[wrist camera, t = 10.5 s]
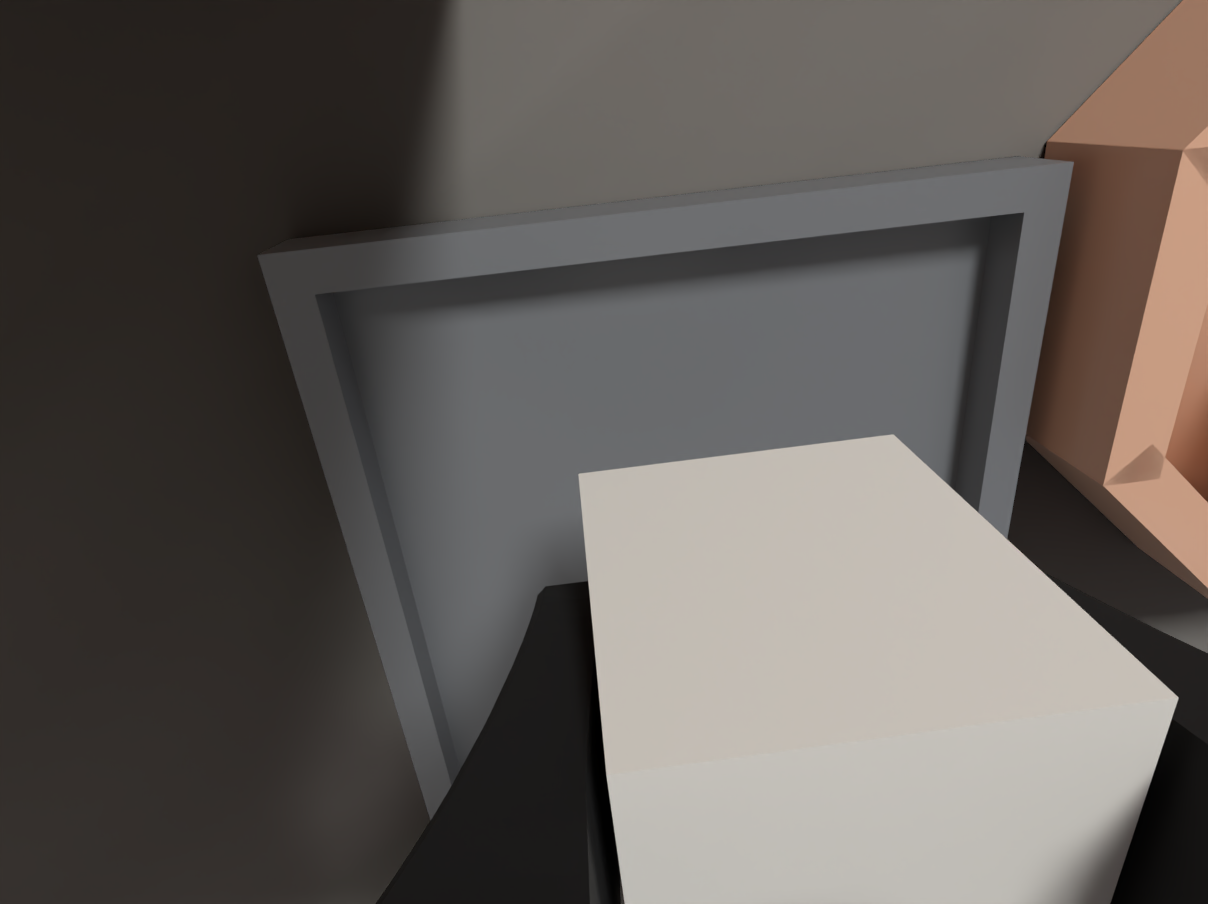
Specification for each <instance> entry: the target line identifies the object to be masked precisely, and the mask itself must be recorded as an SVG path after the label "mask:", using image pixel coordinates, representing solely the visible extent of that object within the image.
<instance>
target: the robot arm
mask: <svg viewBox="0 0 1208 904" xmlns="http://www.w3.org/2000/svg"><path fill="white" fill-rule="evenodd" d="M1043 573H1044V572H1043ZM1044 574H1045V575H1046V576H1047V577H1048V578H1050V579H1051V580H1052V581H1053V582H1054V583H1055V584H1056V585H1057V586H1058V587H1059V588H1060V589H1061V590H1063V591H1064V592H1065V593H1066V594H1067V595H1068V596H1069V597H1070V598H1071V599H1072V600H1073V601H1075V602H1076V603H1077V604H1078V605H1079V606H1080V607H1081V608H1082V609H1083V610H1084V611H1085V612H1086V613H1088V614H1089V615H1090V616H1091V617H1092V618H1093V619H1094V620H1095V621H1096V622H1097V623H1098V624H1099V625H1101V626H1102V627H1103V628H1104V629H1105V630H1106V631H1107V632H1108V633H1109V634H1110V635H1111V636H1112V637H1114V638H1115V639H1116V640H1117V641H1118V642H1119V643H1120V644H1121V645H1122V646H1123V647H1124V648H1125V649H1127V650H1128V651H1129V652H1130V653H1131V654H1132V655H1133V656H1134V657H1135V658H1136V659H1137V660H1138V661H1140V662H1141V663H1142V664H1143V665H1144V666H1145V667H1146V668H1147V669H1148V670H1149V671H1150V672H1151V673H1153V674H1154V675H1155V676H1156V677H1157V678H1158V679H1159V680H1160V681H1161V682H1162V683H1163V684H1164V685H1166V686H1167V687H1168V688H1169V689H1170V690H1171V691H1172V692H1173V693H1174V694H1175V695H1176V696H1177V697H1179V699H1178V702H1177V705H1176V708H1175V711H1174V714H1173V717H1172V720H1171V723H1170V726H1169V729H1168V732H1167V735H1166V738H1165V741H1164V744H1163V747H1162V750H1161V753H1160V756H1159V759H1158V762H1157V765H1156V768H1155V771H1154V774H1153V777H1152V780H1151V783H1150V786H1149V789H1148V792H1147V795H1146V798H1145V801H1144V804H1143V807H1142V810H1141V813H1140V816H1139V819H1138V822H1137V825H1136V828H1135V831H1134V834H1133V837H1132V840H1131V843H1130V846H1129V849H1128V852H1127V855H1126V858H1125V861H1124V864H1123V867H1122V870H1121V873H1120V876H1119V879H1118V882H1117V885H1116V888H1115V891H1114V894H1113V897H1112V900H1111V903H1110V904H1208V653H1206V652H1203V651H1201V650H1199V649H1197V648H1195V647H1193V646H1191V645H1189V644H1187V643H1184V642H1182V641H1180V640H1178V639H1176V638H1174V637H1172V636H1170V635H1168V634H1165V633H1163V632H1161V631H1159V630H1157V629H1155V628H1153V627H1151V626H1149V625H1147V624H1145V623H1143V622H1141V621H1139V620H1137V619H1135V618H1133V617H1131V616H1129V615H1127V614H1125V613H1123V612H1121V611H1119V610H1117V609H1115V608H1113V607H1111V606H1109V605H1107V604H1105V603H1103V602H1101V601H1099V600H1097V599H1095V598H1093V597H1091V596H1089V595H1087V594H1085V593H1083V592H1081V591H1079V590H1077V589H1075V588H1073V587H1071V586H1069V585H1067V584H1065V583H1063V582H1061V581H1059V580H1057V579H1055V578H1053V577H1051V576H1049V575H1047V574H1046V573H1044ZM376 904H621V903H620V867H619V860H618V853H617V846H616V839H615V832H614V825H613V818H612V811H611V804H610V797H609V790H608V783H607V776H606V765H605V755H604V744H603V733H602V722H601V712H600V701H599V690H598V680H597V669H596V658H595V647H594V637H593V626H592V615H591V605H590V594H589V583H588V581H584V582H576V583H568V584H560V585H552V586H545V587H544V589H543V590H542V591H541V592H540V593H539V594H538V595H537V599H536V603H535V607H534V610H533V613H532V616H531V619H530V622H529V625H528V628H527V631H526V633H525V636H524V639H523V641H522V644H521V646H520V649H519V651H518V653H517V656H516V658H515V661H514V663H513V666H512V668H511V670H510V672H509V674H508V676H507V679H506V681H505V683H504V685H503V687H502V689H501V691H500V694H499V696H498V698H497V700H496V702H495V704H494V707H493V709H492V711H491V713H490V715H489V717H488V719H487V721H486V723H485V725H484V727H483V729H482V731H481V732H480V734H479V736H478V738H477V740H476V742H475V743H474V745H473V747H472V749H471V751H470V753H469V754H468V756H467V758H466V760H465V762H464V764H463V765H462V767H461V769H460V771H459V773H458V775H457V777H456V778H455V780H454V782H453V784H452V786H451V787H450V789H449V791H448V793H447V794H446V796H445V798H444V799H443V801H442V803H441V804H440V806H439V808H438V809H437V811H436V813H435V814H434V816H433V818H432V819H431V821H430V822H429V824H428V826H427V827H426V829H425V830H424V832H423V834H422V835H421V837H420V838H419V840H418V842H417V843H416V845H415V846H414V848H413V849H412V851H411V852H410V854H409V855H408V857H407V858H406V860H405V861H404V863H403V865H402V866H401V868H400V869H399V871H398V872H397V874H396V875H395V877H394V878H393V880H392V881H391V883H390V884H389V886H388V887H387V888H386V890H385V891H384V893H383V894H382V896H381V897H380V898H379V900H378V901H377V903H376Z"/></svg>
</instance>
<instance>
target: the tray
mask: <svg viewBox="0 0 1208 904" xmlns="http://www.w3.org/2000/svg"><path fill="white" fill-rule="evenodd" d="M1073 165H1074V162H1071V161H1061V160H1051V159H1041V158H1031V157H1021V156H1015V157H1007V158H998V159H989V160H980V161H971V162H963V163H954V164H945V165H936V166H928V167H919V168H910V169H901V170H892V171H884V172H875V173H866V174H857V175H848V176H840V177H831V178H822V179H813V180H804V181H796V182H787V183H778V184H769V185H761V186H752V187H743V188H734V189H725V190H717V191H708V192H699V193H690V194H681V195H673V196H664V197H655V198H646V199H637V200H629V201H620V202H611V203H602V204H594V205H585V206H576V207H567V208H558V209H550V210H541V211H532V212H523V213H514V214H506V215H497V216H488V217H479V218H471V219H462V220H453V221H444V222H435V223H427V224H418V225H409V226H400V227H391V228H383V229H374V230H365V231H356V232H347V233H339V234H330V235H321V236H312V237H304V238H295V239H288V240H286V241H284V242H282V243H280V244H278V245H276V246H274V247H272V248H270V249H268V250H266V251H264V252H262V253H260V254H258V255H257V256H258V259H259V263H260V266H261V269H262V273H263V276H264V279H265V282H266V286H267V289H268V292H269V295H270V299H271V302H272V305H273V308H274V312H275V315H276V318H277V321H278V325H279V328H280V331H281V335H282V338H283V341H284V344H285V348H286V351H287V354H288V357H289V361H290V364H291V367H292V370H293V374H294V377H295V380H296V383H297V387H298V390H299V393H300V397H301V400H302V403H303V406H304V410H305V413H306V416H307V419H308V423H309V426H310V429H311V432H312V436H313V439H314V442H315V445H316V449H317V452H318V455H319V459H320V462H321V465H322V468H323V472H324V475H325V478H326V481H327V485H328V488H329V491H330V494H331V498H332V501H333V504H334V507H335V511H336V514H337V517H338V520H339V524H340V527H341V530H342V534H343V537H344V540H345V543H346V547H347V550H348V553H349V556H350V560H351V563H352V566H353V569H354V573H355V576H356V579H357V582H358V586H359V589H360V592H361V596H362V599H363V602H364V605H365V609H366V612H367V615H368V618H369V622H370V625H371V628H372V631H373V635H374V638H375V641H376V644H377V648H378V651H379V654H380V658H381V661H382V664H383V667H384V671H385V674H386V677H387V680H388V684H389V687H390V690H391V693H392V697H393V700H394V703H395V706H396V710H397V713H398V716H399V719H400V723H401V726H402V729H403V733H404V736H405V739H406V742H407V746H408V749H409V752H410V755H411V759H412V762H413V765H414V768H415V772H416V775H417V778H418V781H419V785H420V788H421V791H422V795H423V798H424V801H425V804H426V808H427V811H428V814H429V817H430V821H431V819H432V818H433V816H434V814H435V813H436V811H437V809H438V808H439V806H440V804H441V803H442V801H443V799H444V798H445V796H446V794H447V793H448V791H449V789H450V787H451V786H452V784H453V782H454V780H455V778H456V777H457V775H458V773H459V771H460V769H461V767H462V765H463V764H464V762H465V760H466V758H467V756H468V754H469V753H470V751H471V749H472V747H473V745H474V743H475V742H476V740H477V738H478V736H479V734H480V732H481V731H482V729H483V727H484V725H485V723H486V721H487V719H488V717H489V715H490V713H491V711H492V709H493V707H494V704H495V702H496V700H497V698H498V696H499V694H500V691H501V689H502V687H503V685H504V683H505V681H506V679H507V676H508V674H509V672H510V670H511V668H512V666H513V663H514V661H515V658H516V656H517V653H518V651H519V649H520V646H521V644H522V641H523V639H524V636H525V633H526V631H527V628H528V625H529V622H530V619H531V616H532V613H533V610H534V607H535V603H536V599H537V595H538V594H539V593H540V592H541V591H542V590H543V589H544V587H545V586H552V585H560V584H568V583H576V582H584V581H588V572H587V562H586V551H585V540H584V529H583V519H582V508H581V497H580V487H579V476H578V474H580V473H588V472H596V471H604V470H612V469H620V468H628V467H636V466H644V465H652V464H660V463H668V462H676V461H684V460H692V459H700V458H708V457H716V456H724V455H732V454H740V453H748V452H756V451H764V450H772V449H780V448H788V447H796V446H804V445H812V444H820V443H828V442H836V441H844V440H852V439H860V438H868V437H876V436H884V435H892V434H894V435H895V436H896V437H897V438H898V439H899V440H900V441H901V442H902V443H903V444H904V445H905V446H907V447H908V448H909V449H910V450H911V451H912V452H913V453H914V454H915V455H916V456H917V457H918V458H920V459H921V460H922V461H923V462H924V463H925V464H926V465H927V466H928V467H929V468H930V469H931V470H933V471H934V472H935V473H936V474H937V475H938V476H939V477H940V478H941V479H942V480H943V481H944V482H946V483H947V484H948V485H949V486H950V487H951V488H952V489H953V490H954V491H955V492H956V493H957V494H959V495H960V496H961V497H962V498H963V499H964V500H965V501H966V502H967V503H968V504H969V505H970V506H972V507H973V508H974V509H975V510H976V511H977V512H978V513H979V514H980V515H981V516H982V517H983V518H985V519H986V520H987V521H988V522H989V523H990V524H991V525H992V526H993V527H994V528H995V529H996V530H998V531H999V532H1000V533H1001V534H1002V535H1003V536H1004V537H1005V538H1006V539H1007V537H1008V531H1009V526H1010V520H1011V515H1012V509H1013V503H1014V498H1015V492H1016V486H1017V481H1018V475H1019V469H1020V464H1021V458H1022V453H1023V447H1024V441H1025V436H1026V430H1027V424H1028V419H1029V413H1030V407H1031V402H1032V396H1033V390H1034V385H1035V379H1036V374H1037V368H1038V362H1039V357H1040V351H1041V345H1042V340H1043V334H1044V328H1045V323H1046V317H1047V312H1048V306H1049V300H1050V295H1051V289H1052V283H1053V278H1054V272H1055V266H1056V261H1057V255H1058V250H1059V244H1060V238H1061V233H1062V227H1063V221H1064V216H1065V210H1066V204H1067V199H1068V193H1069V187H1070V182H1071V176H1072V171H1073Z"/></svg>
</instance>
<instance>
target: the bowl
mask: <svg viewBox="0 0 1208 904" xmlns="http://www.w3.org/2000/svg"><path fill="white" fill-rule="evenodd" d="M1044 159H1051V160H1061V161H1071V162H1074V165H1073V171H1072V176H1071V182H1070V187H1069V193H1068V199H1067V204H1066V210H1065V216H1064V221H1063V227H1062V233H1061V238H1060V244H1059V250H1058V255H1057V261H1056V266H1055V272H1054V278H1053V283H1052V289H1051V295H1050V300H1049V306H1048V312H1047V317H1046V323H1045V328H1044V334H1043V340H1042V345H1041V351H1040V357H1039V362H1038V368H1037V374H1036V379H1035V385H1034V390H1033V396H1032V402H1031V407H1030V413H1029V419H1028V424H1027V430H1026V436H1025V440H1026V441H1027V442H1028V443H1029V444H1030V445H1031V446H1032V447H1033V448H1034V449H1035V450H1036V451H1038V452H1039V453H1040V454H1041V455H1042V456H1043V457H1044V458H1045V459H1046V460H1047V461H1048V462H1049V463H1050V464H1051V465H1052V466H1053V467H1054V468H1055V469H1056V470H1057V471H1058V472H1060V473H1061V474H1062V475H1063V476H1064V477H1065V478H1066V479H1067V480H1068V481H1069V482H1070V483H1071V484H1072V485H1073V486H1074V487H1075V488H1076V489H1077V490H1078V491H1079V492H1080V493H1082V494H1083V495H1084V496H1085V497H1086V498H1087V499H1088V500H1089V501H1090V502H1091V503H1092V504H1093V505H1094V506H1095V507H1096V508H1097V509H1098V510H1099V511H1100V512H1101V513H1102V514H1103V515H1105V516H1106V517H1107V518H1108V519H1109V520H1110V521H1111V522H1112V523H1113V524H1114V525H1115V526H1116V527H1117V528H1118V529H1119V530H1120V531H1121V532H1122V533H1123V534H1124V535H1125V536H1127V537H1128V538H1129V539H1130V540H1131V541H1132V542H1133V543H1134V544H1135V545H1136V546H1137V547H1138V548H1139V549H1141V550H1142V551H1143V552H1145V553H1146V554H1148V555H1149V556H1150V557H1152V558H1153V559H1154V560H1156V561H1157V562H1158V563H1160V564H1161V565H1163V566H1164V567H1165V568H1167V569H1168V570H1169V571H1171V572H1172V573H1173V574H1175V575H1176V576H1177V577H1179V578H1180V579H1182V580H1183V581H1184V582H1186V583H1187V584H1188V585H1190V586H1191V587H1192V588H1194V589H1195V590H1196V591H1198V592H1199V593H1201V594H1202V595H1203V596H1205V597H1206V598H1207V599H1208V0H1183V1H1182V2H1181V3H1180V4H1179V5H1178V6H1177V7H1176V8H1175V9H1174V10H1173V11H1172V12H1171V13H1170V14H1169V15H1168V16H1167V17H1166V18H1165V19H1164V20H1163V21H1162V22H1161V23H1160V24H1159V26H1158V27H1157V28H1156V29H1155V30H1154V31H1153V32H1152V33H1151V34H1150V35H1149V36H1148V37H1147V38H1146V39H1145V40H1144V41H1143V42H1142V43H1141V44H1140V45H1139V46H1138V47H1137V48H1136V49H1135V50H1134V52H1133V53H1132V54H1131V55H1130V56H1129V57H1128V58H1127V59H1126V60H1125V61H1124V62H1123V63H1122V64H1121V65H1120V66H1119V67H1118V68H1117V69H1116V70H1115V71H1114V72H1113V73H1112V74H1111V75H1110V76H1109V78H1108V79H1107V80H1106V81H1105V82H1104V83H1103V84H1102V85H1101V86H1100V87H1099V88H1098V89H1097V90H1096V91H1095V92H1094V93H1093V94H1092V95H1091V96H1090V97H1089V98H1088V99H1087V100H1086V101H1085V102H1084V104H1083V105H1082V106H1081V107H1080V108H1079V109H1078V110H1077V111H1076V112H1075V113H1074V114H1073V115H1072V116H1071V117H1070V118H1069V119H1068V120H1067V121H1066V122H1065V123H1064V124H1063V125H1062V126H1061V127H1060V128H1059V130H1058V131H1057V132H1056V133H1055V134H1054V135H1053V136H1052V137H1051V138H1050V139H1049V140H1048V141H1047V145H1046V151H1045V157H1044Z"/></svg>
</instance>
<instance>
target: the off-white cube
mask: <svg viewBox="0 0 1208 904" xmlns="http://www.w3.org/2000/svg"><path fill="white" fill-rule="evenodd" d="M578 476H579V487H580V497H581V508H582V519H583V529H584V540H585V551H586V562H587V572H588V583H589V594H590V605H591V615H592V626H593V637H594V647H595V658H596V669H597V680H598V690H599V701H600V712H601V722H602V733H603V744H604V755H605V765H606V776H607V783H608V790H609V797H610V804H611V811H612V818H613V825H614V832H615V839H616V846H617V853H618V860H619V867H620V874H621V881H622V888H623V895H624V902H625V904H1110V903H1111V900H1112V897H1113V894H1114V891H1115V888H1116V885H1117V882H1118V879H1119V876H1120V873H1121V870H1122V867H1123V864H1124V861H1125V858H1126V855H1127V852H1128V849H1129V846H1130V843H1131V840H1132V837H1133V834H1134V831H1135V828H1136V825H1137V822H1138V819H1139V816H1140V813H1141V810H1142V807H1143V804H1144V801H1145V798H1146V795H1147V792H1148V789H1149V786H1150V783H1151V780H1152V777H1153V774H1154V771H1155V768H1156V765H1157V762H1158V759H1159V756H1160V753H1161V750H1162V747H1163V744H1164V741H1165V738H1166V735H1167V732H1168V729H1169V726H1170V723H1171V720H1172V717H1173V714H1174V711H1175V708H1176V705H1177V702H1178V699H1179V697H1177V696H1176V695H1175V694H1174V693H1173V692H1172V691H1171V690H1170V689H1169V688H1168V687H1167V686H1166V685H1164V684H1163V683H1162V682H1161V681H1160V680H1159V679H1158V678H1157V677H1156V676H1155V675H1154V674H1153V673H1151V672H1150V671H1149V670H1148V669H1147V668H1146V667H1145V666H1144V665H1143V664H1142V663H1141V662H1140V661H1138V660H1137V659H1136V658H1135V657H1134V656H1133V655H1132V654H1131V653H1130V652H1129V651H1128V650H1127V649H1125V648H1124V647H1123V646H1122V645H1121V644H1120V643H1119V642H1118V641H1117V640H1116V639H1115V638H1114V637H1112V636H1111V635H1110V634H1109V633H1108V632H1107V631H1106V630H1105V629H1104V628H1103V627H1102V626H1101V625H1099V624H1098V623H1097V622H1096V621H1095V620H1094V619H1093V618H1092V617H1091V616H1090V615H1089V614H1088V613H1086V612H1085V611H1084V610H1083V609H1082V608H1081V607H1080V606H1079V605H1078V604H1077V603H1076V602H1075V601H1073V600H1072V599H1071V598H1070V597H1069V596H1068V595H1067V594H1066V593H1065V592H1064V591H1063V590H1061V589H1060V588H1059V587H1058V586H1057V585H1056V584H1055V583H1054V582H1053V581H1052V580H1051V579H1050V578H1048V577H1047V576H1046V575H1045V574H1044V573H1043V572H1042V571H1041V570H1040V569H1039V568H1038V567H1037V566H1035V565H1034V564H1033V563H1032V562H1031V561H1030V560H1029V559H1028V558H1027V557H1026V556H1025V555H1024V554H1022V553H1021V552H1020V551H1019V550H1018V549H1017V548H1016V547H1015V546H1014V545H1013V544H1012V543H1011V542H1009V541H1008V540H1007V539H1006V538H1005V537H1004V536H1003V535H1002V534H1001V533H1000V532H999V531H998V530H996V529H995V528H994V527H993V526H992V525H991V524H990V523H989V522H988V521H987V520H986V519H985V518H983V517H982V516H981V515H980V514H979V513H978V512H977V511H976V510H975V509H974V508H973V507H972V506H970V505H969V504H968V503H967V502H966V501H965V500H964V499H963V498H962V497H961V496H960V495H959V494H957V493H956V492H955V491H954V490H953V489H952V488H951V487H950V486H949V485H948V484H947V483H946V482H944V481H943V480H942V479H941V478H940V477H939V476H938V475H937V474H936V473H935V472H934V471H933V470H931V469H930V468H929V467H928V466H927V465H926V464H925V463H924V462H923V461H922V460H921V459H920V458H918V457H917V456H916V455H915V454H914V453H913V452H912V451H911V450H910V449H909V448H908V447H907V446H905V445H904V444H903V443H902V442H901V441H900V440H899V439H898V438H897V437H896V436H895V435H894V434H892V435H884V436H876V437H868V438H860V439H852V440H844V441H836V442H828V443H820V444H812V445H804V446H796V447H788V448H780V449H772V450H764V451H756V452H748V453H740V454H732V455H724V456H716V457H708V458H700V459H692V460H684V461H676V462H668V463H660V464H652V465H644V466H636V467H628V468H620V469H612V470H604V471H596V472H588V473H580V474H578Z"/></svg>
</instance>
